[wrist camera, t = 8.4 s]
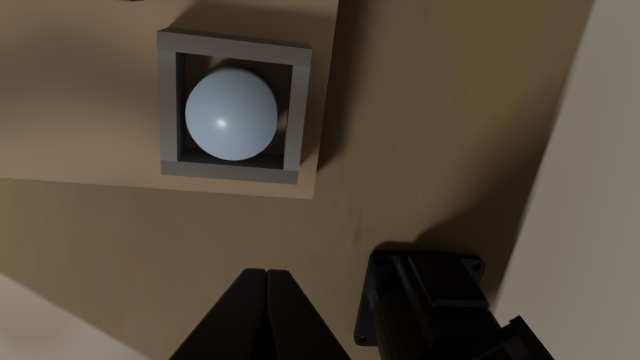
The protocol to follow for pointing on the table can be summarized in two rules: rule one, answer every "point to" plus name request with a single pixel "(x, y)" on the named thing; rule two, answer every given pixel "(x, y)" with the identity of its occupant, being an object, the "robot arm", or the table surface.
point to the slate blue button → (232, 112)
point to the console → (157, 90)
